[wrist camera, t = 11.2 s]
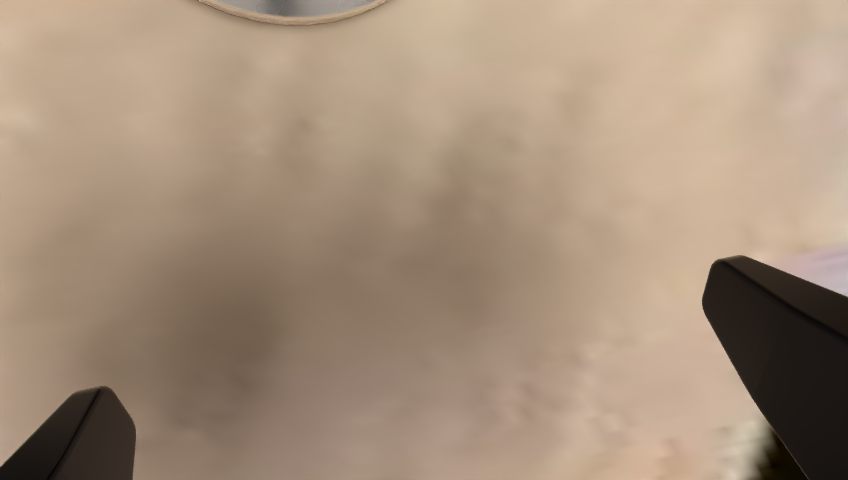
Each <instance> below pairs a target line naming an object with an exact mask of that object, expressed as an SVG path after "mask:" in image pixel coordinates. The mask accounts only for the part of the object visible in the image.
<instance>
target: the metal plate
mask: <svg viewBox="0 0 848 480" xmlns="http://www.w3.org/2000/svg"><path fill="white" fill-rule="evenodd" d="M198 1H200V2H202V3H204V4H207V5H209V6H212V7H214V8H217V9H219V10H222V11H224V12H227V13H229V14H232V15H236V16H239V17H243V18H247V19H251V20H255V21H259V22H266V23H274V24H282V25H313V24H320V23H327V22H334V21H338V20H342V19H345V18H349V17H352V16H356V15H359V14H361V13H364V12H366V11H368V10H370V9H372V8H375V7H377V6H379V5H381V4H383V3H384V2H386V1H388V0H198Z"/></svg>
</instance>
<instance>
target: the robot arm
mask: <svg viewBox="0 0 848 480" xmlns="http://www.w3.org/2000/svg"><path fill="white" fill-rule="evenodd" d="M702 306H703V310H704V313H705V315H706V317H707V319H708V321H709V323H710V324H711V326H712V328H713V330H714V332H715V333H716V335H717V337H718V339H719V341H720V342H721V344H722V346H723V348H724V350H725V351H726V353H727V355H728V357H729V359H730V360H731V362H732V364H733V366H734V368H735V369H736V371H737V373H738V375H739V376H740V378H741V380H742V382H743V384H744V385H745V387H746V389H747V390H748V392H749V394H750V395H751V397H752V399H753V400H754V402H755V403H756V405H757V406H758V408H759V409H760V411H761V412H762V414H763V415H764V417H765V418H766V419H767V421H768V422H769V424H770V425H771V427H772V428H773V429H774V431H775V432H776V434H777V435H778V437H779V438H780V439H781V441H782V442H783V444H784V445H785V447H786V448H787V449H788V451H789V452H790V454H791V455H792V457H793V458H794V459H795V461H796V462H797V464H798V465H799V467H800V468H801V469H802V471H803V472H804V474H805V475H806V477H807V478H808V479H809V480H848V297H847V296H844V295H842V294H839V293H837V292H834V291H832V290H829V289H826V288H824V287H821V286H819V285H816V284H814V283H811V282H809V281H806V280H804V279H801V278H799V277H796V276H794V275H791V274H789V273H786V272H784V271H781V270H779V269H776V268H774V267H771V266H769V265H766V264H764V263H761V262H759V261H756V260H754V259H751V258H749V257H746V256H742V255H737V256H732V257H727V258H722V259H718V260H716V261H715V262H714V263H713V264H712V265H711V268H710V272H709V275H708V279H707V282H706V286H705V290H704V293H703V297H702ZM135 443H136V429H135V425H134V422H133V420H132V418H131V417H130V415H129V414H128V412H127V411H126V409H125V408H124V406H123V405H122V403H121V402H120V400H119V399H118V397H117V396H116V394H115V393H114V392H113V390H112V389H111V388H109V387H107V386H99V387H95V388H90V389H85V390H80V391H77V392H75V393H73V394H72V395H71V396H70V397H69V398H68V399H67V400H66V401H65V402H64V403H63V404H62V405H61V406H60V407H59V408H58V409H57V410H56V411H55V412H54V413H53V414H52V415H51V416H50V417H49V418H48V419H47V420H46V421H45V422H44V423H43V424H42V425H41V426H40V427H39V428H38V429H37V430H36V431H35V432H34V433H33V434H32V435H31V436H30V437H29V438H28V439H27V440H26V441H25V442H24V443H23V444H22V445H21V446H20V447H19V448H18V449H17V451H16V452H15V453H14V454H13V455H12V456H11V457H10V458H9V459H8V460H7V461H6V462H5V463H4V464H3V465H2V466H1V467H0V480H132V479H133V467H134V455H135Z"/></svg>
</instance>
